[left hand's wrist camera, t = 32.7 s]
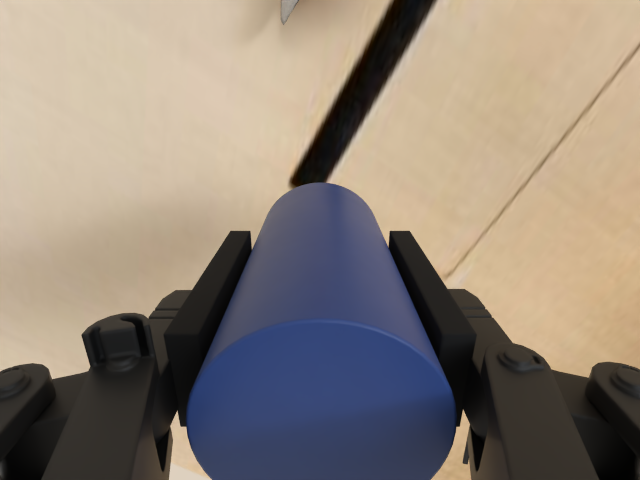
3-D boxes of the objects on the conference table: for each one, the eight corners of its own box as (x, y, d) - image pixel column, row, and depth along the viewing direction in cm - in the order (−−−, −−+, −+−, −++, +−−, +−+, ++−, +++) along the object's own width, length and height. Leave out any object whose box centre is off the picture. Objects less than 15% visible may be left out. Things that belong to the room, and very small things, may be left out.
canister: (398, 257, 17) (499, 467, 8) (302, 307, 18) (282, 550, 9) (341, 159, 16) (378, 266, 6) (239, 220, 17) (126, 400, 7)
